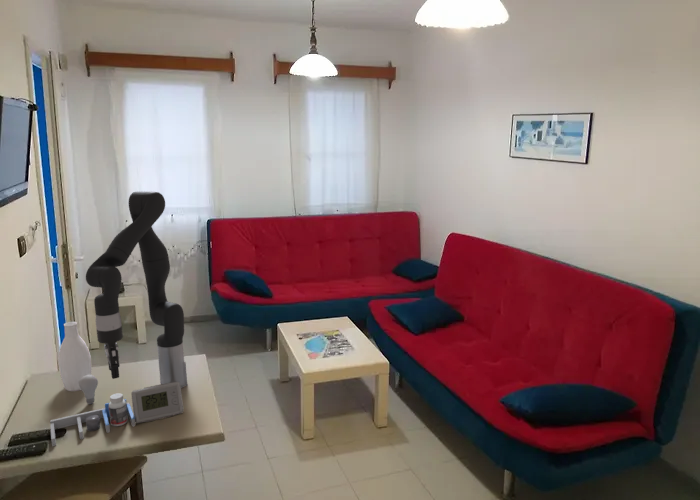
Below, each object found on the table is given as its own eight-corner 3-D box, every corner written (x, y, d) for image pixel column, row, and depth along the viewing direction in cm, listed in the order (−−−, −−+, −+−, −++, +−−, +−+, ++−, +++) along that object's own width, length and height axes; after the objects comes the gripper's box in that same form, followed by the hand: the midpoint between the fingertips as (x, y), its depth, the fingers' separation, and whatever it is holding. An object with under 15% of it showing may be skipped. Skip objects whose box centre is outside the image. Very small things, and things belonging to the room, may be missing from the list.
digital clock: (132, 425, 182) (129, 396, 180) (135, 412, 190) (132, 384, 188) (183, 418, 186) (181, 389, 184) (184, 406, 195) (181, 378, 192)
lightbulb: (92, 408, 193) (89, 379, 191) (77, 407, 194) (74, 378, 192) (103, 400, 199) (100, 372, 197) (88, 399, 200) (85, 371, 198)
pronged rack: (129, 410, 192) (128, 397, 191) (135, 425, 182) (134, 411, 181) (51, 428, 180) (49, 414, 179) (52, 446, 170) (50, 431, 169)
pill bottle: (107, 423, 184) (104, 396, 181) (123, 416, 188) (120, 390, 185) (115, 428, 180) (112, 401, 178) (130, 422, 184) (128, 395, 182)
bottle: (62, 395, 203) (54, 330, 198) (60, 384, 212) (52, 321, 207) (95, 388, 209) (88, 325, 203) (92, 377, 218) (85, 316, 213)
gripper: (124, 330, 172) (129, 379, 176) (118, 317, 185) (123, 363, 188) (98, 335, 169) (104, 384, 172) (94, 321, 181) (99, 368, 185)
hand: (114, 373), depth 180 cm, fingers open, 7 cm apart
